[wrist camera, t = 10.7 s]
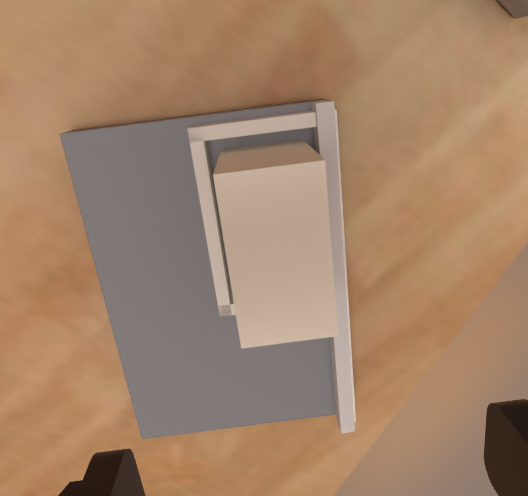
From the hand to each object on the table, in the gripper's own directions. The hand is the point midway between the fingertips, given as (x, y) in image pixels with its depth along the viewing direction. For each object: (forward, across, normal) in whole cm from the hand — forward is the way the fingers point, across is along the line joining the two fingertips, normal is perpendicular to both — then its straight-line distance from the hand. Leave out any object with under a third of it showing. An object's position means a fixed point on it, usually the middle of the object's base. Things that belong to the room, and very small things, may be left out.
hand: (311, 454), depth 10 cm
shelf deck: (+22, +4, +5) cm, 23 cm away
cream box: (+20, 0, 0) cm, 20 cm away
